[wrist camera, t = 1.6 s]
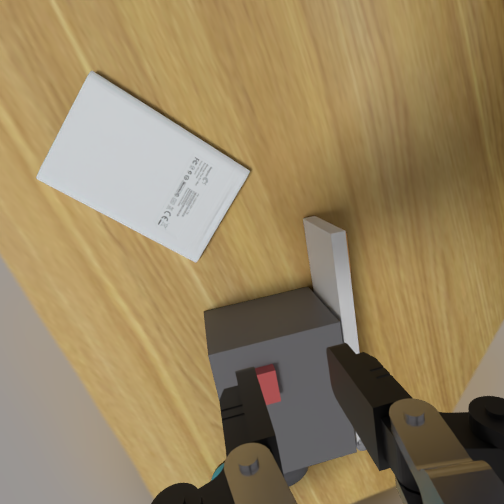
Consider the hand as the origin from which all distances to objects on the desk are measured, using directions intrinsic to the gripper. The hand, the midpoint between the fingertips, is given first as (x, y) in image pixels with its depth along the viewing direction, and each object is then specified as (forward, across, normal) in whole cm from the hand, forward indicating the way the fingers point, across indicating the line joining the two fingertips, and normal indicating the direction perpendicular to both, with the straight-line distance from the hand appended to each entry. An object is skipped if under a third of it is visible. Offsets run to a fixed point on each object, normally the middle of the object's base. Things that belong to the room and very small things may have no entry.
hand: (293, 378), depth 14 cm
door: (+17, -7, +7) cm, 19 cm away
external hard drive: (+18, +5, -8) cm, 20 cm away
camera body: (+17, -1, +11) cm, 20 cm away
